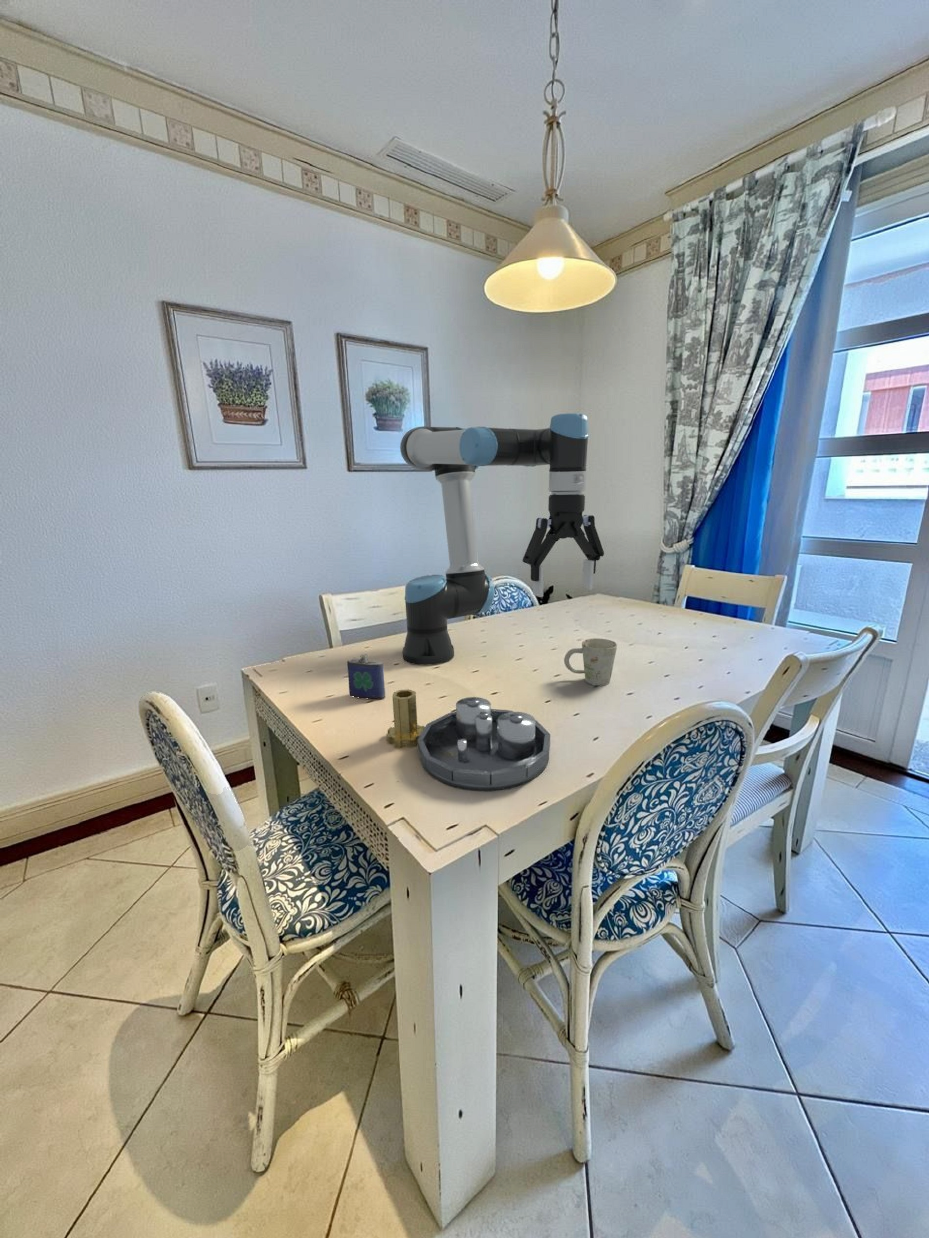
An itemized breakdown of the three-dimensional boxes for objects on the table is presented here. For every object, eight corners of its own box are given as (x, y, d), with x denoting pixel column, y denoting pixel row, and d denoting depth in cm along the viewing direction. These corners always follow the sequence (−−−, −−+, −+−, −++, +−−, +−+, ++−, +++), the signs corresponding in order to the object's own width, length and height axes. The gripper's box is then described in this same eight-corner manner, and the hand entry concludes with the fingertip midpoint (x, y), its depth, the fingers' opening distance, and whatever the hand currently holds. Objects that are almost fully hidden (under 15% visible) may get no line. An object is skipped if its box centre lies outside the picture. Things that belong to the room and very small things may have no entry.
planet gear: (379, 739, 98) (376, 695, 95) (408, 725, 103) (405, 683, 101) (404, 752, 93) (402, 706, 90) (433, 736, 98) (432, 693, 96)
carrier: (393, 756, 91) (390, 717, 89) (477, 712, 108) (477, 678, 106) (493, 810, 76) (493, 764, 74) (573, 748, 93) (575, 709, 91)
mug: (616, 688, 119) (618, 649, 117) (563, 685, 122) (564, 647, 119) (613, 675, 127) (615, 638, 124) (563, 673, 130) (564, 637, 127)
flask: (387, 696, 118) (384, 653, 115) (382, 701, 115) (378, 658, 113) (352, 692, 121) (348, 651, 118) (346, 697, 118) (342, 655, 115)
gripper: (527, 495, 95) (525, 602, 100) (624, 491, 105) (618, 588, 111) (506, 494, 101) (506, 595, 107) (600, 491, 112) (595, 583, 118)
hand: (563, 592), depth 109 cm, fingers open, 13 cm apart
